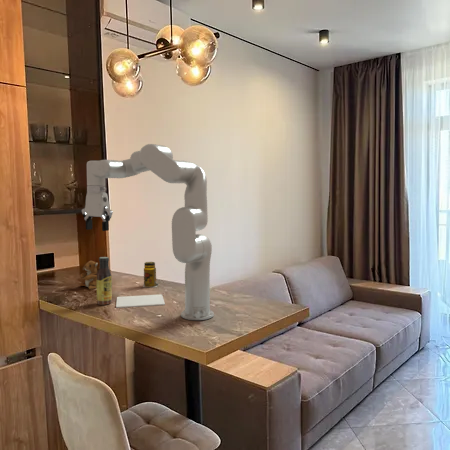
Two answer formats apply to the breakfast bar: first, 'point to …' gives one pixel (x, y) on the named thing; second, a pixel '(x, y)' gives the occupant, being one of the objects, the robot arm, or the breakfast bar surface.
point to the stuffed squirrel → (90, 275)
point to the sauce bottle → (104, 282)
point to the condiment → (150, 275)
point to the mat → (139, 301)
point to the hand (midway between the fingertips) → (97, 230)
